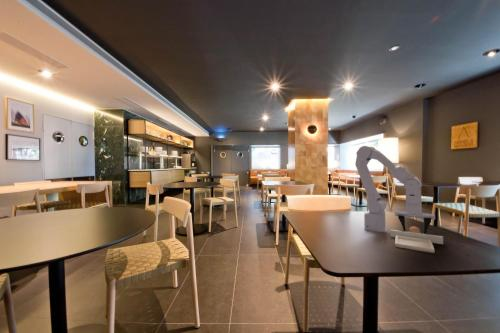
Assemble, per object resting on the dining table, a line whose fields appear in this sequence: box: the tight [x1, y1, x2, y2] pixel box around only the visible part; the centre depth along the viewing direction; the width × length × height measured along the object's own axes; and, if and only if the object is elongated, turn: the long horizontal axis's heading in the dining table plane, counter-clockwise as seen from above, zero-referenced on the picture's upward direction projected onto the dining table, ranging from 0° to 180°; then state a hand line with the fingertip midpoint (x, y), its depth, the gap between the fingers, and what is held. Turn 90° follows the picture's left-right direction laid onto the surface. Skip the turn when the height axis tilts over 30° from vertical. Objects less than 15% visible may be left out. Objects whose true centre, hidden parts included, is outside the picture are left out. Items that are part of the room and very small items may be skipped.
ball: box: [408, 226, 422, 234], centre depth 96 cm, size 4×4×4 cm
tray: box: [394, 235, 435, 254], centre depth 85 cm, size 12×12×1 cm
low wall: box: [390, 229, 444, 245], centre depth 91 cm, size 18×1×3 cm, turn 54°
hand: (414, 233), depth 96 cm, fingers open, 7 cm apart
